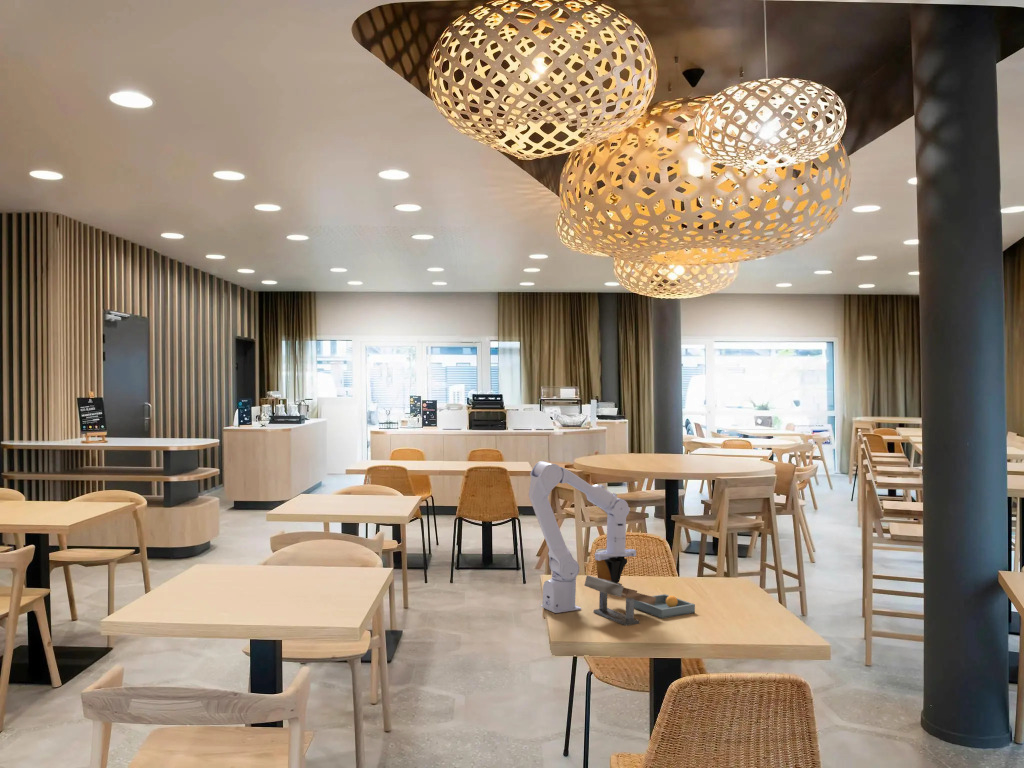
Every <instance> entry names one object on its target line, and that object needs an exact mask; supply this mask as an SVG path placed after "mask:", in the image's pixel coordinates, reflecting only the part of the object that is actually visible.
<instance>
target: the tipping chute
mask: <svg viewBox="0 0 1024 768" xmlns="http://www.w3.org/2000/svg"><path fill="white" fill-rule="evenodd" d="M583 586H585V587H587V588H590V589H593V590H594V591H596V592H597V591H598V592H599V593H600V592H603V593H606V594H607V595H611V596H615V597H618V598H624V599H626V598H630V597H631V598H633V599H634V600H636V601H641V602H645V603H649V604H653V605H655V601H656V597H652V596H653V595H649V594H648V595H647V594H643V593H641V592H640V593H639V592H638V590H635V589H631V588H627V587H624V586H623V584H622V583H620V582H618V583H616V582H613V581H610V580H608V581H607V580H604V579H600V578H598V577H595V576H593V575H586V577H585V582H584V584H583Z"/></svg>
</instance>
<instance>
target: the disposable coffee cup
mask: <svg viewBox="0 0 1024 768" xmlns="http://www.w3.org/2000/svg"><path fill="white" fill-rule="evenodd" d="M606 550H607V548H598V549H596V550H595V553H599V552H603V551H606ZM595 553H594V556H595ZM595 563H596V565H595V566H596V575H597V578H600V579H604V580H607V581H608V580H610V581H611V576H610V572H609V569H608V567H607V564H606V562H605V561H604V560H601V561H598V560H595ZM617 583H619V582H617Z"/></svg>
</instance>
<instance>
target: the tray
mask: <svg viewBox="0 0 1024 768" xmlns="http://www.w3.org/2000/svg"><path fill="white" fill-rule="evenodd" d="M651 596H652V597H656V601H655V605H653V604H649V603H645V602H641V601H636V600H634V610H638V611H641V612H643V613H646V614H649V615H652V616H654V617H656V618H659V619H666V618H673V617H679V616H684V615H691V614H695V613H696V604H694V603H693V602H692V603H691V602H689V601H687V600H683V599H679V598H677V597H676V598H677V600H678V603H677V605H676V606H675V607H669V606H667V604H666V599H667V597H668V596H670V595H668V594H665V593H664V594H656V595H651Z"/></svg>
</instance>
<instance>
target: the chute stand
mask: <svg viewBox="0 0 1024 768" xmlns="http://www.w3.org/2000/svg"><path fill="white" fill-rule="evenodd" d="M598 600H599V602H598V607H599V608H596V609H593V613H594V614H596V615H598V616H601V617H603V618H606V619H608V620H610V621H613V622H614V623H615V622H616V623H618V624H620V625H623V626H632V625H639V624H640V620H639V619H636V618H634V617H635V616H634V615H635V608H634V599H633V598H631V597H630V598H625V613H621V612H619V611H616V610H614V609H612V608H609V607H608V594H606V593H603V592H600V591H599V599H598Z"/></svg>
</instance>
